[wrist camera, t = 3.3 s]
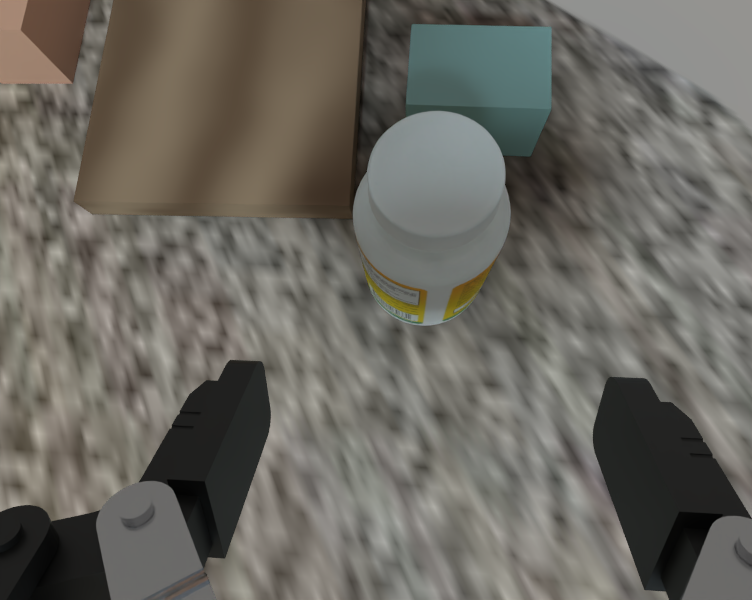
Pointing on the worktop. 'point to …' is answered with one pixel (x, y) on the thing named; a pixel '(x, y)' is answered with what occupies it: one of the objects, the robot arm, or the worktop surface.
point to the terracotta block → (40, 40)
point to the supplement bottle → (431, 216)
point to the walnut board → (226, 109)
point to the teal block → (484, 78)
